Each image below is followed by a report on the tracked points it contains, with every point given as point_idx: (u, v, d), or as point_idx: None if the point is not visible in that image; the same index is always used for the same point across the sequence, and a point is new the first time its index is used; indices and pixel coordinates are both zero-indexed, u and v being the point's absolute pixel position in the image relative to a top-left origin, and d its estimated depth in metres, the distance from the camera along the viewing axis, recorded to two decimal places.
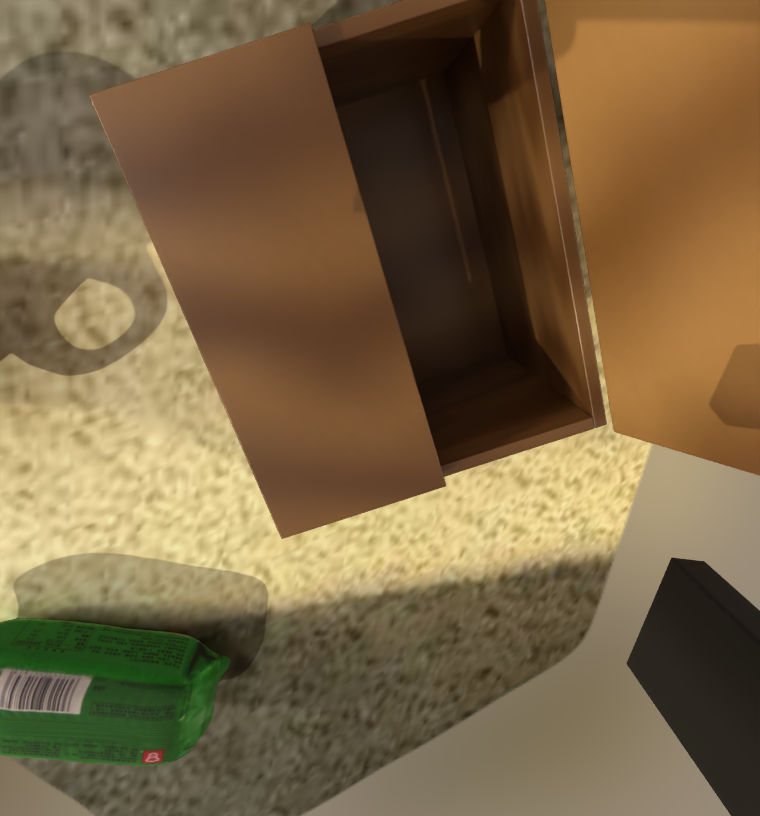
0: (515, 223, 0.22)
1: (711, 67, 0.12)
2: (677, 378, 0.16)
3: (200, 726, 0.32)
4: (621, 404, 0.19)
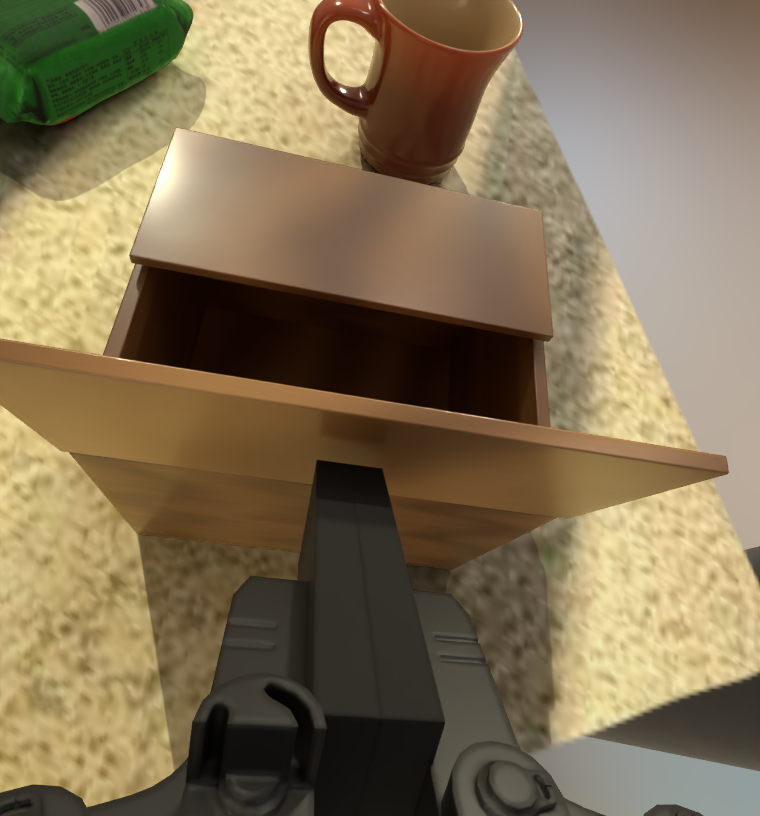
0: None
1: None
2: None
3: None
4: None
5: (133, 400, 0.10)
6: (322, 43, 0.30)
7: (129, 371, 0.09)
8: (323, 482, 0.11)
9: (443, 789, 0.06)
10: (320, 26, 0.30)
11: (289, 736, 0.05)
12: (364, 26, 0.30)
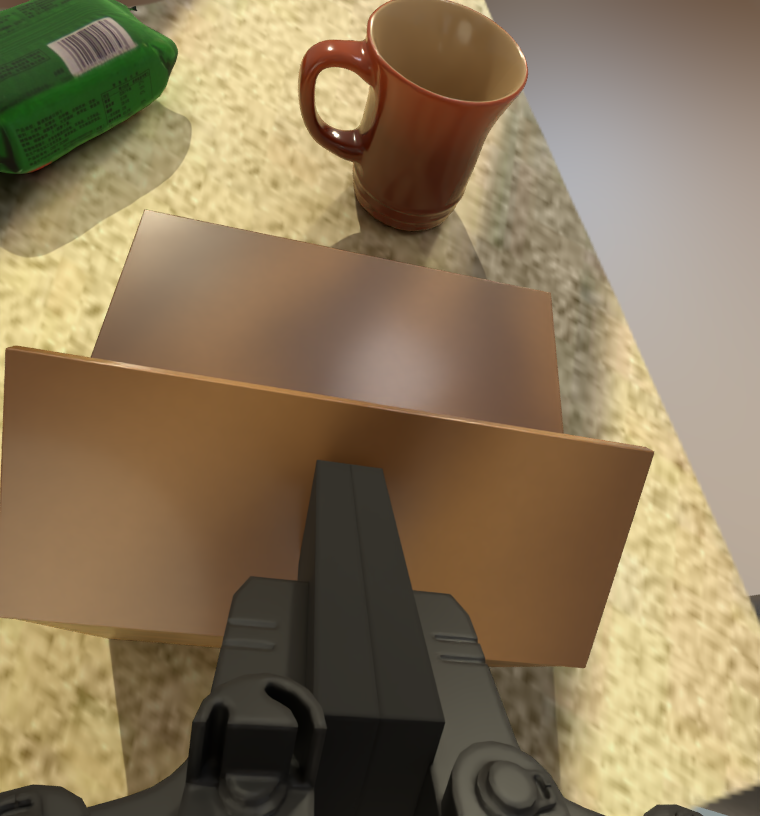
0: None
1: None
2: None
3: None
4: None
5: (152, 418, 0.12)
6: (313, 90, 0.28)
7: (164, 371, 0.12)
8: (323, 482, 0.11)
9: (443, 789, 0.06)
10: (310, 73, 0.27)
11: (288, 735, 0.05)
12: (357, 73, 0.28)
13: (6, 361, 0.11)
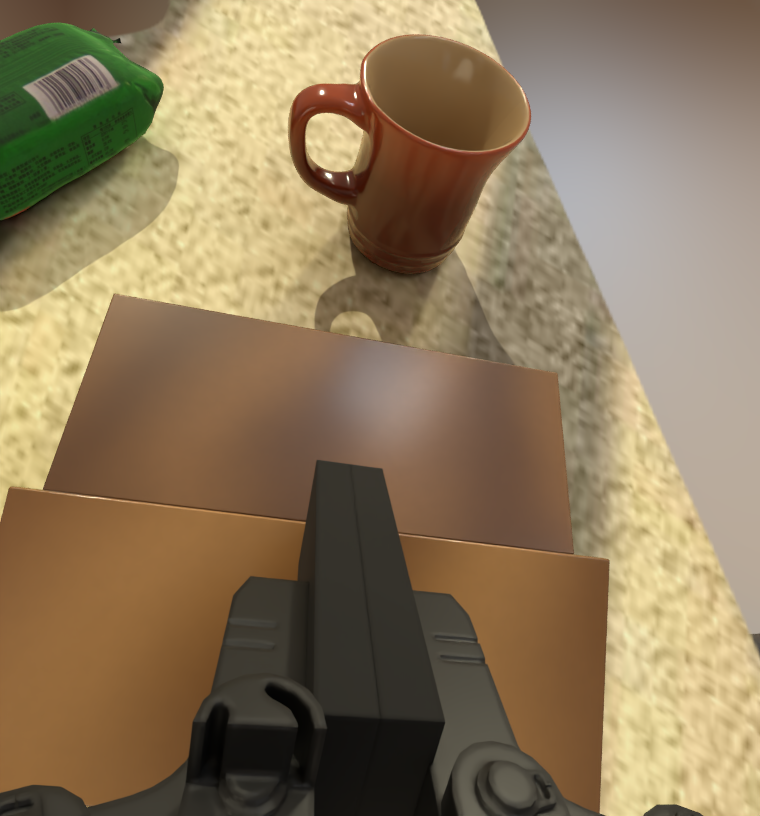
0: None
1: None
2: None
3: None
4: None
5: (138, 548, 0.12)
6: (303, 135, 0.27)
7: None
8: (323, 482, 0.11)
9: (443, 789, 0.06)
10: (300, 120, 0.26)
11: (288, 735, 0.05)
12: (350, 119, 0.26)
13: (7, 499, 0.12)
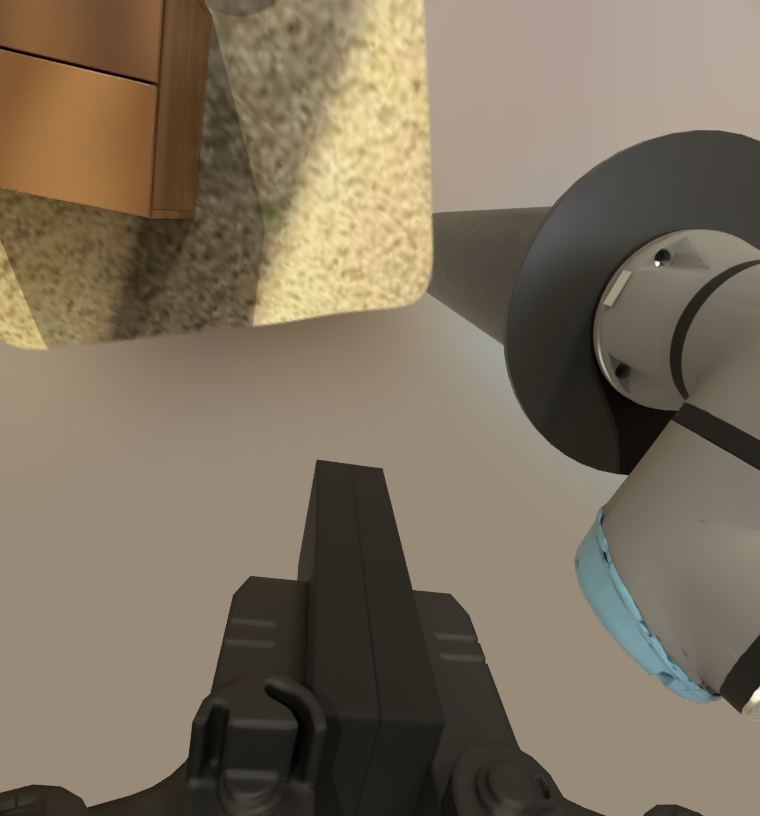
0: None
1: None
2: None
3: None
4: None
5: None
6: None
7: None
8: (323, 482, 0.11)
9: (443, 789, 0.06)
10: None
11: (289, 736, 0.05)
12: None
13: None
